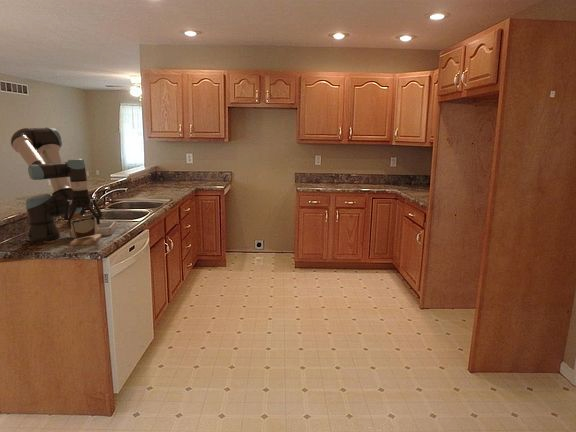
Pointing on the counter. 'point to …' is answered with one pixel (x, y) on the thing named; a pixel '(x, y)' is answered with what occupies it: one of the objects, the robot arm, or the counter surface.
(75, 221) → the food container
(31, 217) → the robot arm
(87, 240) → the board
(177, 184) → the counter surface
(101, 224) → the bin
